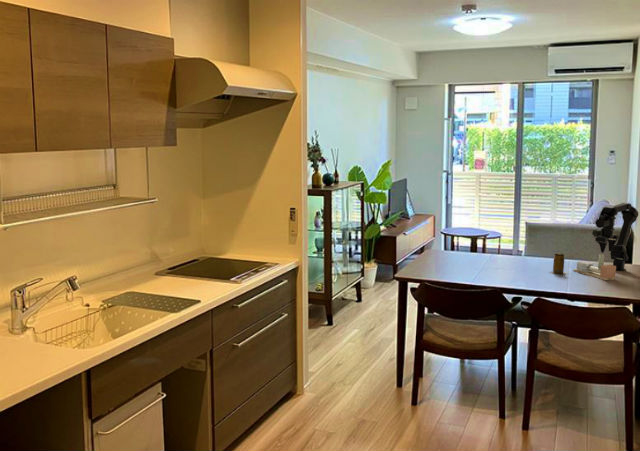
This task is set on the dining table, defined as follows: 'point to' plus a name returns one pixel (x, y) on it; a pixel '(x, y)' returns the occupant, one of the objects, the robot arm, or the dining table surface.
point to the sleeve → (583, 266)
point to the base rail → (593, 274)
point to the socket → (608, 271)
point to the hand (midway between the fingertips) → (606, 251)
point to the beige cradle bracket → (601, 262)
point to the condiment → (559, 264)
